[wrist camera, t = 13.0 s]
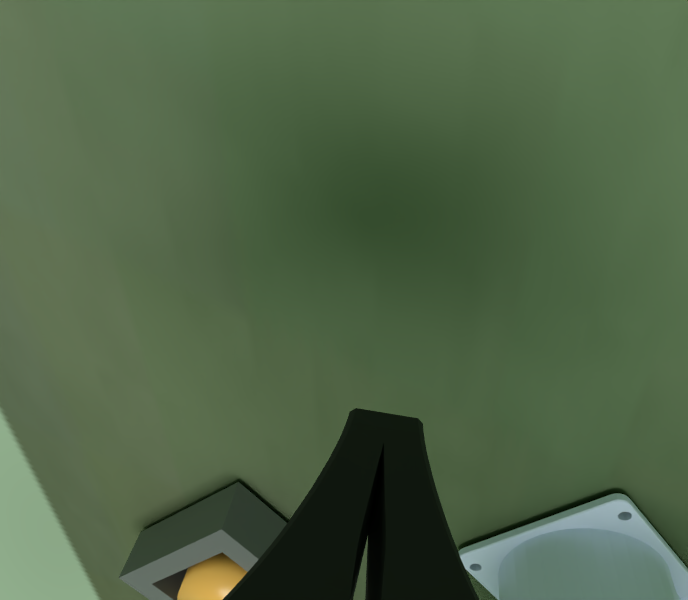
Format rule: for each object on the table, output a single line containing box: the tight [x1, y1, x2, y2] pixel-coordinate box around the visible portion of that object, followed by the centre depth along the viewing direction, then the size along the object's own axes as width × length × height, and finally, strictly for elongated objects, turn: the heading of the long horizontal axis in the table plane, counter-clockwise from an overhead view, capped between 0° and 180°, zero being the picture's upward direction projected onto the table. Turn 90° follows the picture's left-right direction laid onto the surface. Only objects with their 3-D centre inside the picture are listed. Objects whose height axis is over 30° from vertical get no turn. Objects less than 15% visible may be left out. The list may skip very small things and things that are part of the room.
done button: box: [177, 552, 247, 600], centre depth 30 cm, size 4×4×2 cm
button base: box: [119, 482, 287, 600], centre depth 30 cm, size 7×7×2 cm
